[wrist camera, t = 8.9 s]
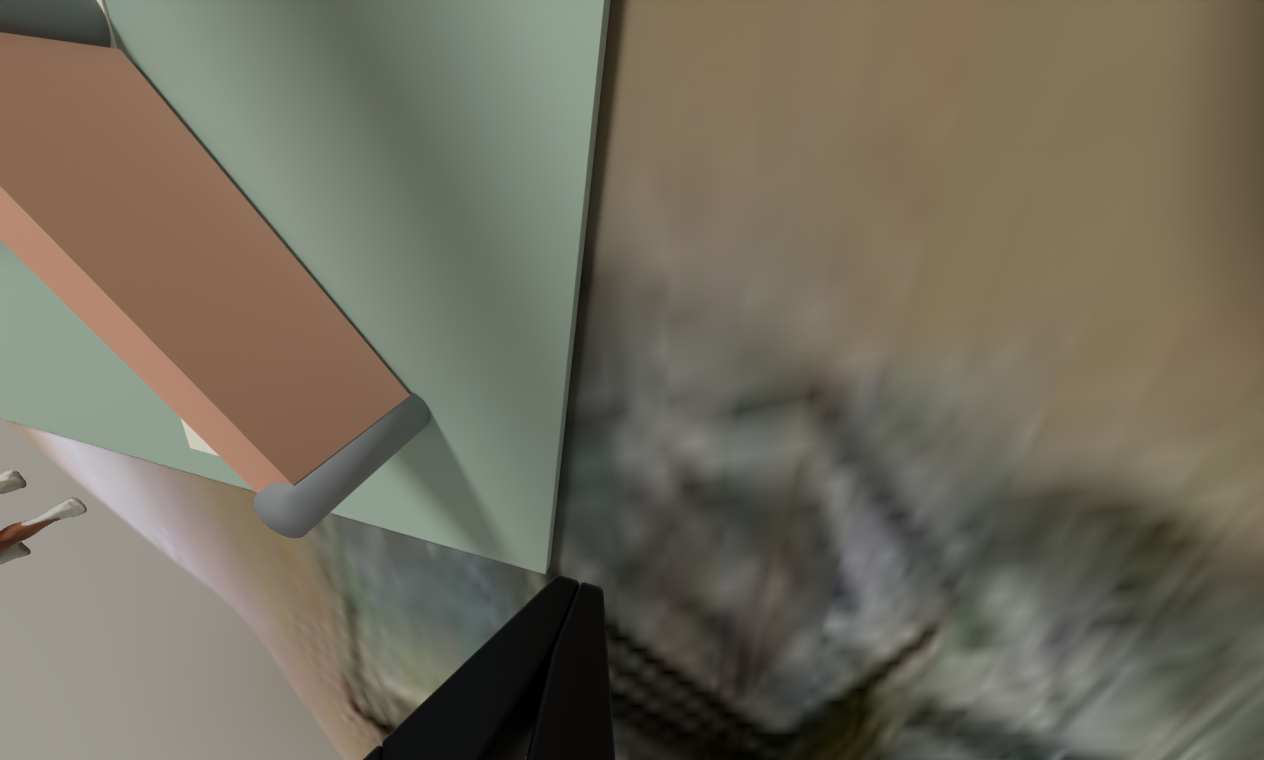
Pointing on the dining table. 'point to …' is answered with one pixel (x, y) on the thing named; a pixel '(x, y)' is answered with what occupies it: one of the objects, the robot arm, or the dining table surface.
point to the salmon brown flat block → (189, 281)
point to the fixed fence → (56, 20)
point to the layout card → (375, 235)
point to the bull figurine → (7, 541)
